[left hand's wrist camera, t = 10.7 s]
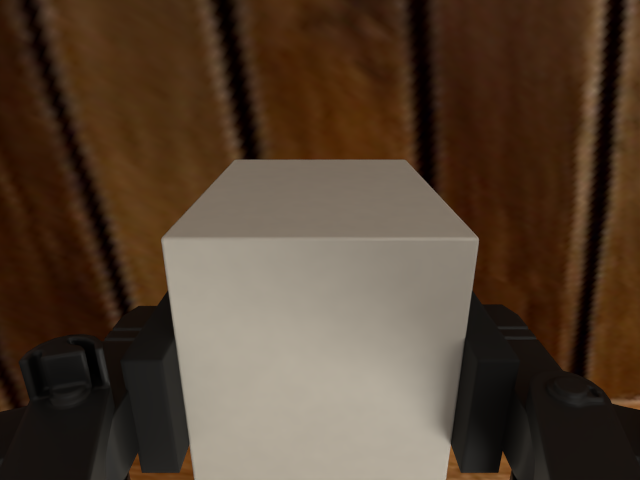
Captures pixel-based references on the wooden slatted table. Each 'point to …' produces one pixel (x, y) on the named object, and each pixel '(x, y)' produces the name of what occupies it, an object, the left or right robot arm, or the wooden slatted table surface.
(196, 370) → the brick
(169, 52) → the wooden slatted table surface
